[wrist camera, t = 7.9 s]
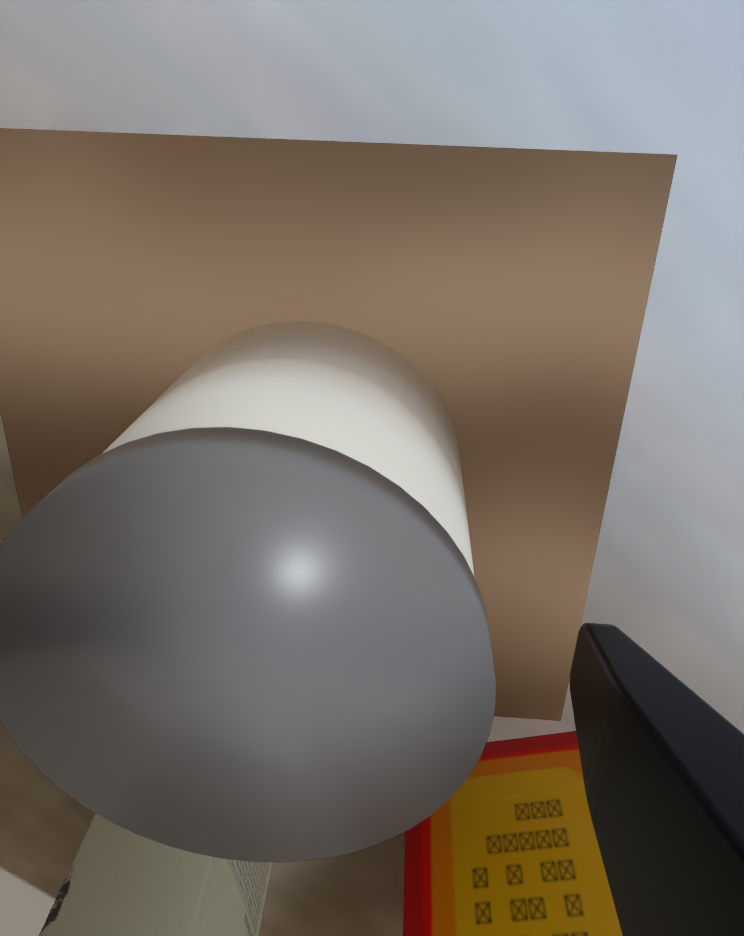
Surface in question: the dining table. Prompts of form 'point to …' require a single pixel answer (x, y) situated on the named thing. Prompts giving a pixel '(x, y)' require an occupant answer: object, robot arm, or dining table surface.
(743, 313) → the dining table surface
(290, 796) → the ceramic jar
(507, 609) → the walnut block
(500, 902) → the baking soda box
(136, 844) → the box
